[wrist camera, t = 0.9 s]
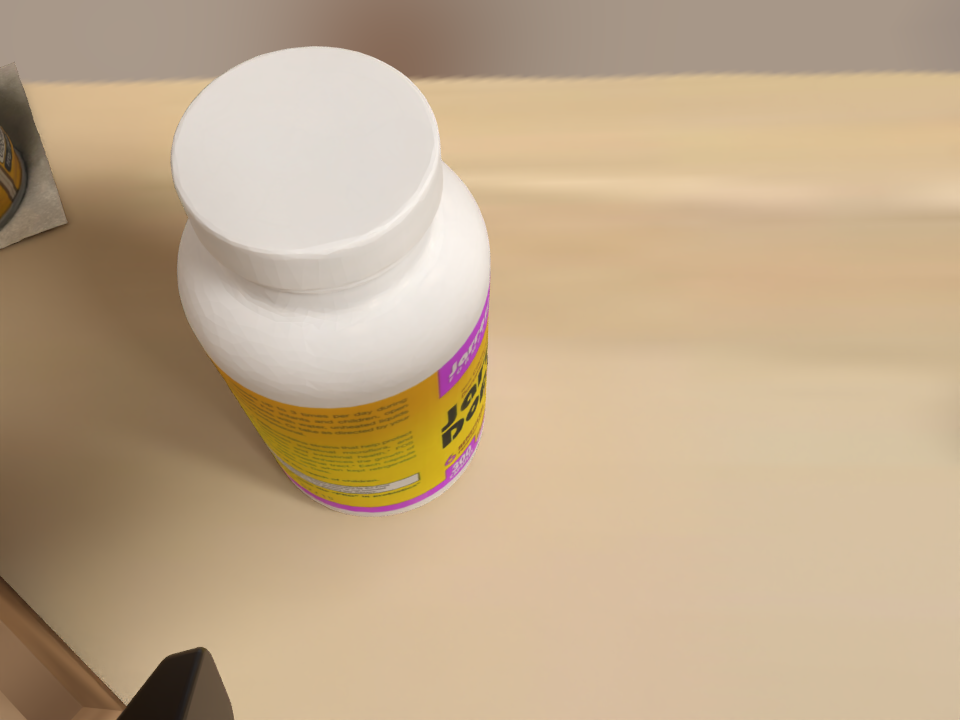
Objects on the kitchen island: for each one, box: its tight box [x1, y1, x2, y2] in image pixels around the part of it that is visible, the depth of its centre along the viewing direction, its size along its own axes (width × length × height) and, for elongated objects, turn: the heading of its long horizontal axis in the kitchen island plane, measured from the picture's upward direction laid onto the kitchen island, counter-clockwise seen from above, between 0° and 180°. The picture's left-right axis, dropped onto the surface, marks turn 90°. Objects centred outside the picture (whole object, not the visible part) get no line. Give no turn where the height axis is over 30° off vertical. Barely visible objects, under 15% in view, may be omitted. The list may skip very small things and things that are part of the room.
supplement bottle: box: [171, 47, 490, 517], centre depth 20 cm, size 7×7×13 cm
